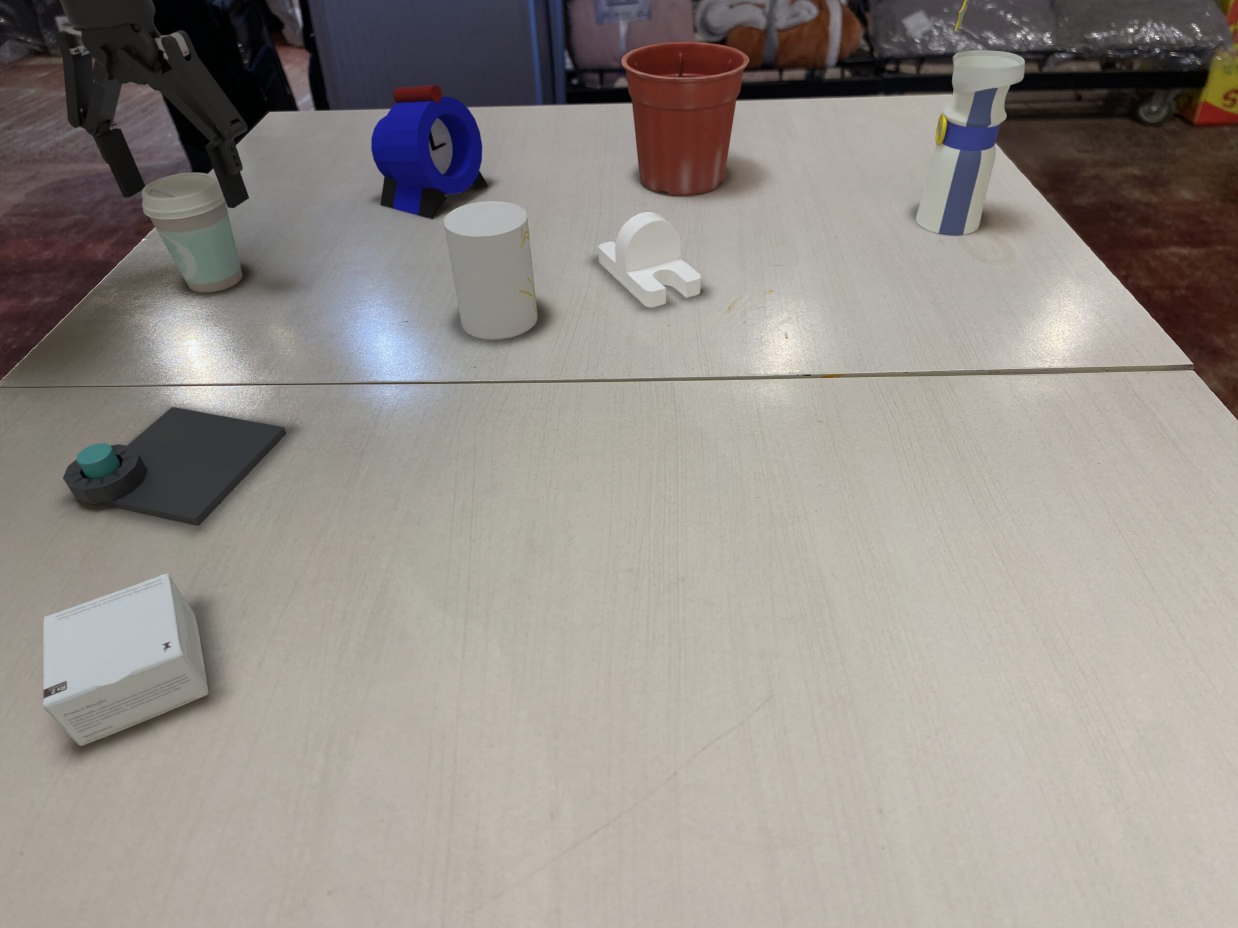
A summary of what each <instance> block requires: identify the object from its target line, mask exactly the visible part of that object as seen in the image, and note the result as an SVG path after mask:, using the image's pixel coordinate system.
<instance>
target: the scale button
mask: <svg viewBox="0 0 1238 928" xmlns="http://www.w3.org/2000/svg"><path fill="white" fill-rule="evenodd" d="M110 445H111V444H109V443H103V442H101V443H94V444H91V445H88V446H86V447H85V448H83V449H81V450H80V451H79V452H78V453H77V455H76V459H75V460H77V462H78V464H79V465H80V467H81V469H82V470H83V472H84V473H85V475H86V476H87V477H88V478H90V479H97V478H103V477H105V476H107V475H109V474H112V473H114V472H115V471H116V470H117V469H118V468H119V467H120V461H119V460H118V458H117V456H116V454H115V453H114V451H113V449H112V447H111V446H110Z"/></svg>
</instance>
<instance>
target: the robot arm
mask: <svg viewBox="0 0 1238 928" xmlns="http://www.w3.org/2000/svg"><path fill="white" fill-rule="evenodd" d="M59 3H60V5H61V7H62V9H63V12H64V13H65V16H66V19H67V21H68V22H69V24H70V25H71V26H72V27H69V28H66V29H64V30H61V31H57V32H55V34H54V37H55V41H56V43H57V46H58V48H59V52H60V55H61V57H62V68H63V69H62V70H63V79H64V91H65V92H64V93H65V102H66V115H67V122H68V123H69V125H70V126H71V127H72V128H74V129H77V128H81V129H83V130H85V131H86V133H87V134H89V135H90V136H92V138H93V140H94V142H95V144H96V146H97V149H98V152H99V153H100V155H101V158H102V160H103V161H104V162H105V163H106V165H108V167H109V168H110V170H111V174H112V175H113V178H114V180H115V182H116V184H117V186H118V189H119V190H120V193H121V195H122V197H123V198H128V199H129V198H131V197H133V196H135V195H136V194H139V193H140V192H142V190H143V188H144V187H145V186H146V184H145V182H144V179H143V177H142V175H141V172H140V170H139V167H138V165H137V162H136V161H135V159H134V156H133V154H132V152H131V149H130V146H129V144H128V142H127V140H126V138H125V135H124V132H123V131H122V128H117V127H115V126H117V124H118V123H117V122H115V120H114V119H115V115H116V111H117V107H118V103H119V99H120V95H121V92H122V87H123V85H126V84H128V83H133V84H136V85H140V86H141V85H142V86H145V85H148V87H150V89H152V90H153V91H156V92H159V93H161V94H162V95H163V96H164V97H165V98H166V99H167V100H168V101H169V102H170V103H171V104H172V105H173V106H174V108H176V109H177V110H179V112H180V113H181V114H182V115H183V116H184V117H185V118H186V119H187V120H188V121H189V122H190V123H191V124H192V125H193V126H194V127H195V128H196V129H197V130H198V131H199V132H200V133H201V134H202V135H203V136H204V137H205V138H206V139H207V140H209V142H208V143H207V144H206V145H204V147H205V150H206V153H207V155H208V157H209V161H210V163H211V167H212V169H213V172H214V174H215V177H216V181H217V182H218V184H219V185H220V188H221V191H222V193H223V196H224V199H225V202H226V206H227V209H235V208H237V207H239V206H240V205H241V204H243V203H244V202H246V201H247V200H249V199H250V196H249V193H248V189H247V187H246V185H245V181H244V178H243V176H242V173H241V172H242V171H243V170H244V169H243V163H242V160H241V157H240V154H239V151H238V148H237V145H236V142H235V138H237V137H238V136H240V135H242V134H243V133H246V132H247V131H248V129H249V127H248V124H247V123H246V121H245V120H244V118H243V117H242V115H241V114H240V112H239V111H238V110H237V109H236V106H234V104H233V103H232V102H231V100H230V99H229V98H228V96H227V95H226V94H225V92H224V91H223V89H222V88H221V86H220V85H219V84H218V82H217V81H216V79H215V78H214V77H213V76H212V74H211V73H210V71H209V70H208V68H207V67H206V66H205V64H204V63H203V62H202V60H201V59H200V58H199V56H198V54H197V52H196V49H195V47H194V45H193V43H192V40H191V38H190V36H189V34H188V33H187V32H186V31H184V30H178V31H176V32H173V33H170V34H167V35H162V34H161V33H160V32H159V30H158V29H157V27H156V25H155V22H154V19H155V14H156V7H155V5H154V2H153V0H59ZM93 59H94V64H93ZM162 72H163V73H162ZM113 127H115V128H113ZM111 128H112V129H111Z"/></svg>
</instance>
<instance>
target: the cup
mask: <svg viewBox="0 0 1238 928" xmlns="http://www.w3.org/2000/svg"><path fill="white" fill-rule="evenodd" d="M443 226H444V232H445V233H444V234H445V238H446V244H447V250H448V256H449V260H450V261H449V262H450V266H451V272H452V278H453V284H454V288H455V295H456V300H457V301H456V302H457V307H458V311H459V317H460V318H459V319H460V323H461V327H462V329H463V330H464V331H465V332H466V333H467V334H468V335H470V336H473V337H475V338H479V339H483V340H506V339H510V338H514V337H518V336H520V335H522V334H525V333H527V331H530V330H531V329H532V328H533V327H534V326H535V325H536V324H537V321H538V319H539V318H538V317H539V316H538V315H539V314H538V306H537V305H538V304H537V297H536V287H535V286H536V285H535V276H534V268H533V267H534V266H533V259H532V249H531V238H530V229H529V219H528V213H527V211H526V209H525V208H523V207H522V206H520V205H518V204H516V203H513V202H508V201H501V200H485V201H483V200H482V201H477V202H472V203H467V204H464V205H460V206H459V207H457V208H454V209H453V210H451V211H450V212H448V213H447V214H446V215H445V216H444V218H443Z"/></svg>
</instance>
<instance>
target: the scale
mask: <svg viewBox="0 0 1238 928" xmlns="http://www.w3.org/2000/svg"><path fill="white" fill-rule="evenodd" d="M286 435H287V431H286V429H285V427H284V426H279V425H274V424H270V423H269V424H268V423H263V422H258V421H252V420H246V419H241V418H236V417H231V416H226V415H225V416H224V415H218V414H213V413H208V412H204V411H197V410H193V409H192V410H191V409H187V408H182V407H181V408H180V407H175V406H171V407H170V408H169V409H168V410H166V412H164V413H163V414H162V415H161V416H159V418H157V419H156V420H154V422H153V423H151V424H150V425H149V426H148V427H147V428H146V429H145V430H143V431H142V432H141V433H140V434H139V435H137V437H135V438H134V439H133V440H131V442H129V443H128V444H126V445H124V444H120V443H118V444H109V445H110V446H111V447H112V449H113V451H114V453H115V454H116V456H117V458H118V460H119V461H120V467H119V468H118V469H117V470H116V471H115V472H114V473H112V474H109V475H107V476H105V477H103V478H97V479H90V478H88V477H87V476H86V475H85V473H84V472H83V470H82V469H81V467H80V465H79V464H78V462H77V460H76V459H74V460H73V462H71V463H70V464H68V465H67V466H66V469H65V471H64V474H63V477H62V479H63V481H64V482H65V485H66V486H67V487H68V489H69V490H70V492H71V493H72V495H73V497H74V498H75V500H76V501H78V502H82V503H86V504H90V505H95V504H99V505H104V506H109V507H113V508H118V509H122V510H126V511H131V512H136V513H141V514H145V515H149V516H154V517H159V518H162V519H167V520H172V521H176V522H181V523H186V524H190V525H195V526H199V525H200V524H202V522H204V521H205V520H206V518H207V517H208V516H209V515H211V513H212V512H213V511H214V510H215V509H216V508H217V507H218V506H219V504H220V503H221V502H222V501H224V500H225V498H226V497H227V496H228V495H229V494H230V493H231V492H232V491H233V490H234V489H235V488H236V487H237V486H238V485H239V484H240V483H241V482H242V481H243V480H244V478H245V477H247V475H248V474H249V473H250V472H251V471H252V470H253V469H254V468H255V467H256V466H257V465H258V464H259V463H260V462H261V461H262V459H263V458H264V457H265V456H266V455H267V454H269V452H270V451H271V450H273V448H274V447H275V446H276V445H277V444H278V443H279V442H280V440H281V439H282V438H283V437H284V436H286Z"/></svg>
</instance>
